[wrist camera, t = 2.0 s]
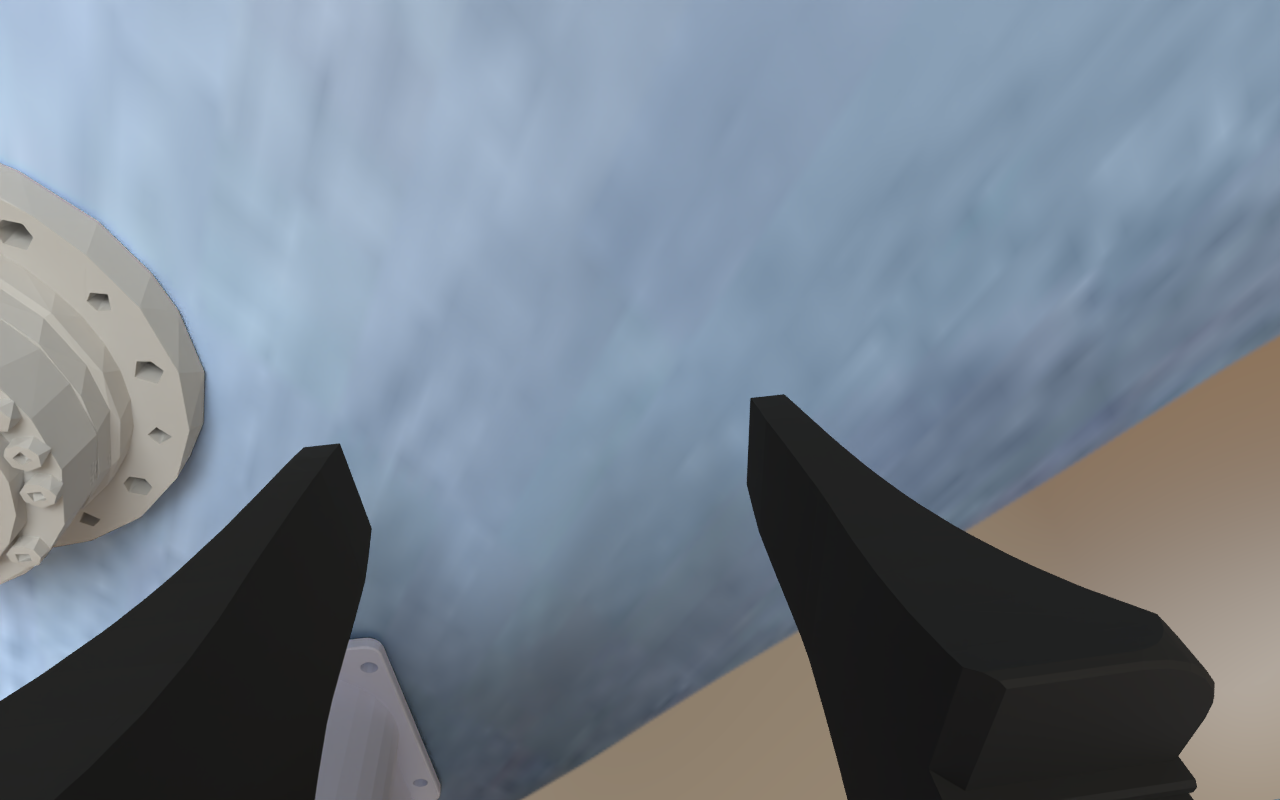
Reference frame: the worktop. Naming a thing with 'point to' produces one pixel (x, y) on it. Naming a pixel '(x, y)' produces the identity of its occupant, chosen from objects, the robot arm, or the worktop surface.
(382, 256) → the worktop surface
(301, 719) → the robot arm
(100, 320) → the mechanical component
